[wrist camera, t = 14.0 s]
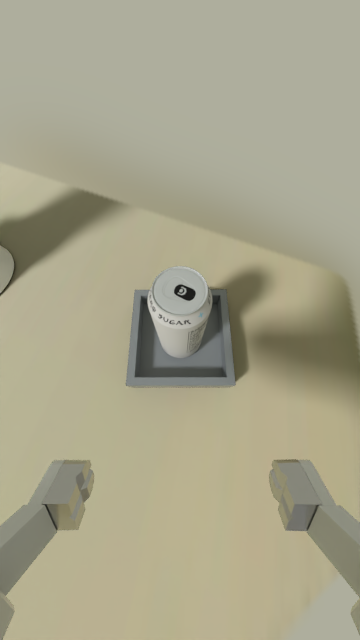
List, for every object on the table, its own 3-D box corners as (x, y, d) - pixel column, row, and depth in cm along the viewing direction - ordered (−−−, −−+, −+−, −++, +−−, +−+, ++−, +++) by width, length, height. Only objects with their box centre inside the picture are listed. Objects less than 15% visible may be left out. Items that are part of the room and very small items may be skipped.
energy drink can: (172, 315, 33) (166, 251, 19) (207, 332, 32) (226, 276, 18) (153, 347, 31) (130, 302, 17) (189, 367, 30) (195, 335, 16)
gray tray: (132, 387, 30) (125, 385, 27) (139, 300, 35) (134, 289, 32) (229, 387, 30) (235, 385, 26) (222, 300, 35) (226, 289, 32)
